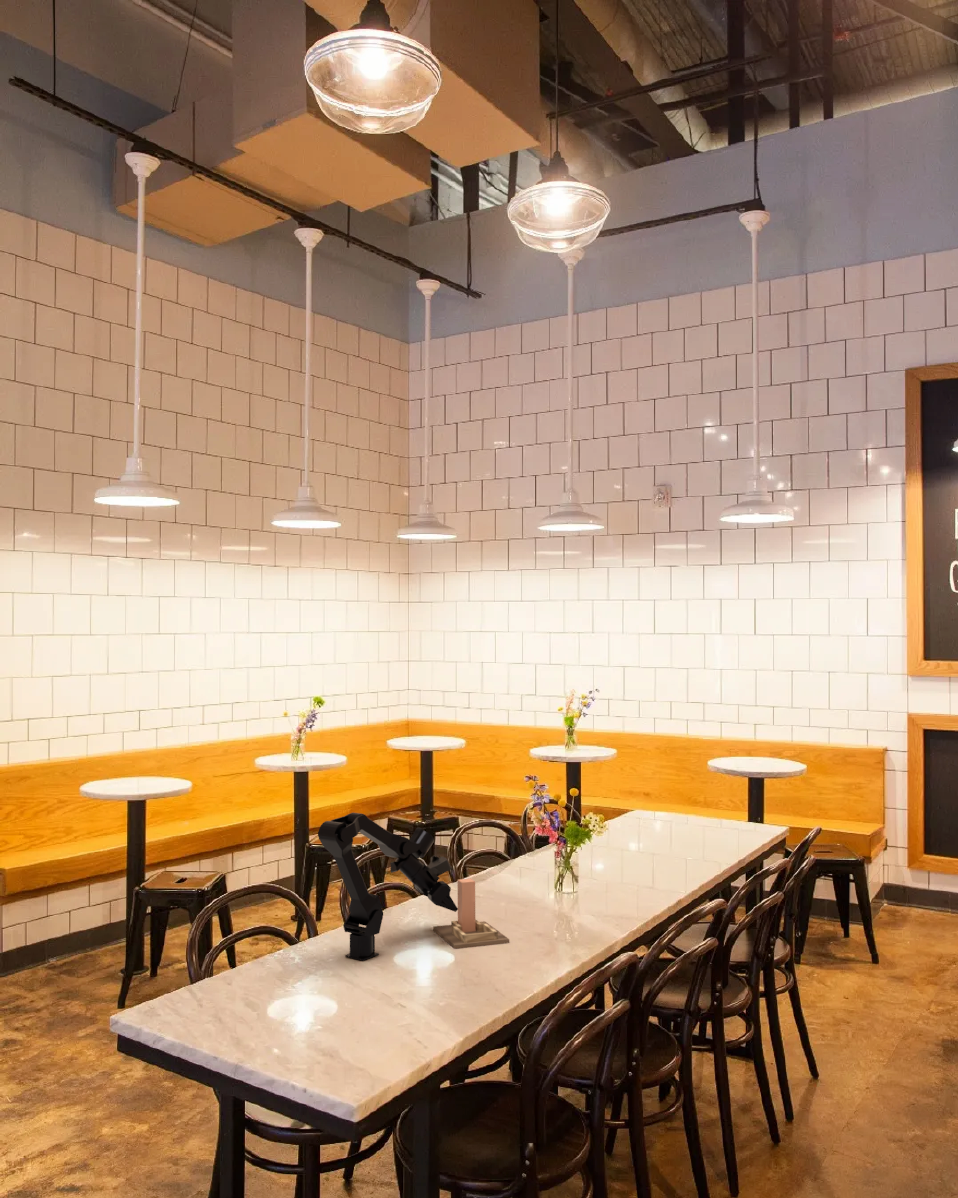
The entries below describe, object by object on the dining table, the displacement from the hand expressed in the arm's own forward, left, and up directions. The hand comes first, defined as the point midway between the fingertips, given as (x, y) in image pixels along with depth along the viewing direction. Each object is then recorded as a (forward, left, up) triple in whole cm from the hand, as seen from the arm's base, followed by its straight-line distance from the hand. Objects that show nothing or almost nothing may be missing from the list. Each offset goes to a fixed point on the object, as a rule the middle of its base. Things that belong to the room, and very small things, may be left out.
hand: (451, 906), depth 287 cm
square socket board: (+2, -5, -8) cm, 10 cm away
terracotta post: (+4, -2, -7) cm, 8 cm away
